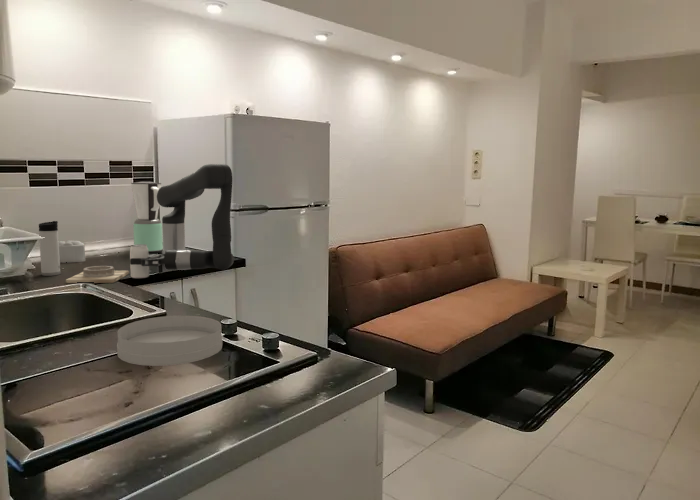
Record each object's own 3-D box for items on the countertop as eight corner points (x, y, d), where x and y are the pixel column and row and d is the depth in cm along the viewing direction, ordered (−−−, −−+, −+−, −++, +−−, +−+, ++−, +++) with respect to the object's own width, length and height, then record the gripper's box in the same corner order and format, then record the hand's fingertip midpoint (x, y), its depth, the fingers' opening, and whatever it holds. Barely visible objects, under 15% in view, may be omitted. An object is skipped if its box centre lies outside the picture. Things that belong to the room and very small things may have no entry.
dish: (239, 339, 127) (238, 319, 127) (191, 371, 106) (191, 347, 105) (155, 332, 132) (154, 312, 132) (93, 361, 111) (92, 338, 110)
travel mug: (64, 273, 206) (62, 221, 203) (49, 276, 200) (45, 222, 197) (53, 272, 208) (50, 220, 206) (37, 274, 202) (34, 221, 200)
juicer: (127, 253, 262) (124, 180, 257) (152, 250, 271) (150, 180, 267) (146, 257, 249) (143, 181, 244) (172, 254, 259) (170, 181, 254)
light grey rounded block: (85, 261, 235) (84, 241, 234) (51, 263, 229) (50, 243, 228) (85, 258, 244) (84, 239, 243) (52, 259, 238) (51, 240, 237)
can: (142, 279, 198) (141, 246, 196) (127, 278, 199) (125, 245, 198) (152, 275, 204) (151, 244, 203) (137, 275, 205) (136, 243, 204)
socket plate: (85, 273, 206) (85, 264, 206) (129, 273, 208) (128, 264, 207) (66, 282, 188) (65, 272, 188) (113, 282, 190) (113, 272, 190)
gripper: (182, 247, 209) (138, 247, 207) (174, 252, 195) (127, 252, 193) (183, 266, 210) (139, 266, 208) (175, 272, 196) (128, 273, 194)
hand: (133, 259), depth 201 cm, fingers open, 7 cm apart
